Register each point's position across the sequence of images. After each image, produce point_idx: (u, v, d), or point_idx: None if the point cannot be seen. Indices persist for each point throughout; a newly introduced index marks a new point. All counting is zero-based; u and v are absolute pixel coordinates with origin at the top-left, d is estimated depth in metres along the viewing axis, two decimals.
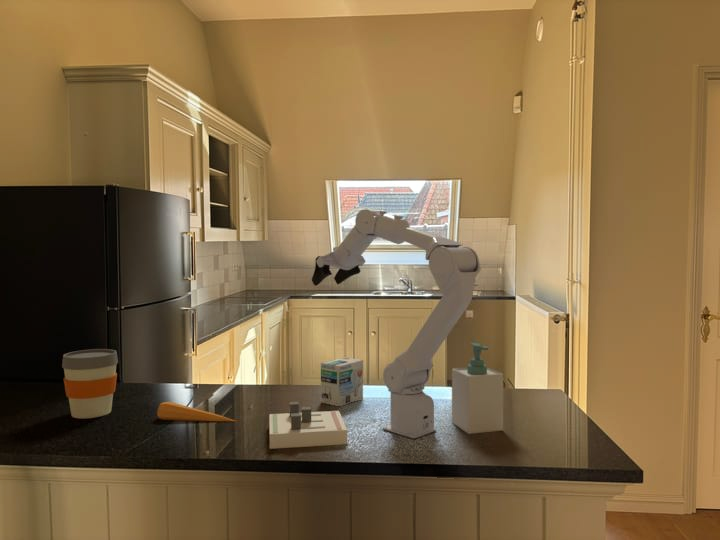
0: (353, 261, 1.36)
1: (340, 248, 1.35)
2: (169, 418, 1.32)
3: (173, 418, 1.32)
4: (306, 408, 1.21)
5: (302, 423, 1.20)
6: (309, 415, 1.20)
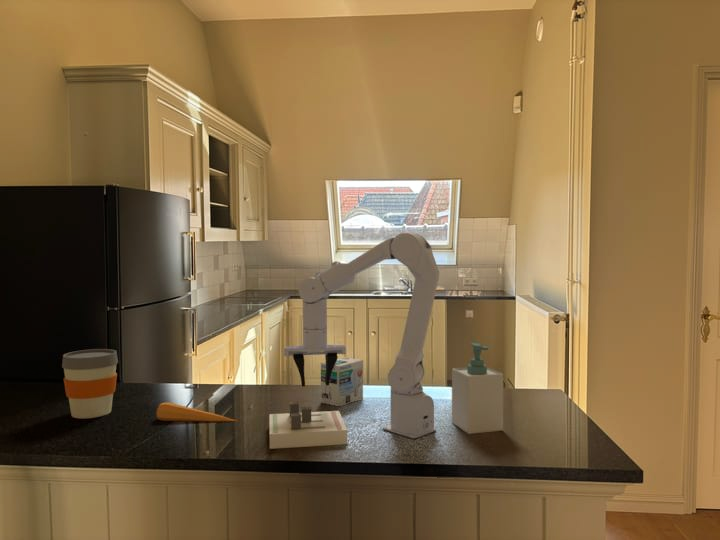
0: (315, 338, 1.29)
1: None
2: (169, 419, 1.32)
3: (173, 419, 1.32)
4: (306, 408, 1.21)
5: (302, 423, 1.20)
6: (309, 415, 1.20)
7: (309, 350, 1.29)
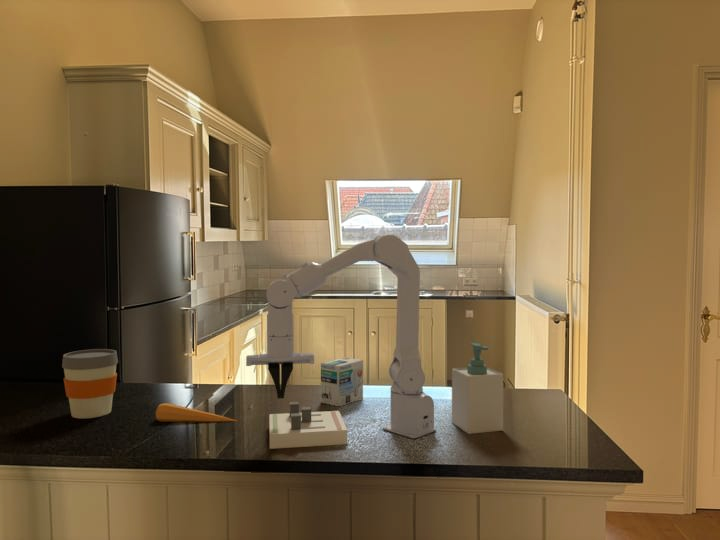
0: (280, 346, 1.18)
1: None
2: (168, 420, 1.31)
3: (172, 419, 1.31)
4: (306, 408, 1.21)
5: (302, 423, 1.20)
6: (309, 415, 1.20)
7: (273, 359, 1.18)
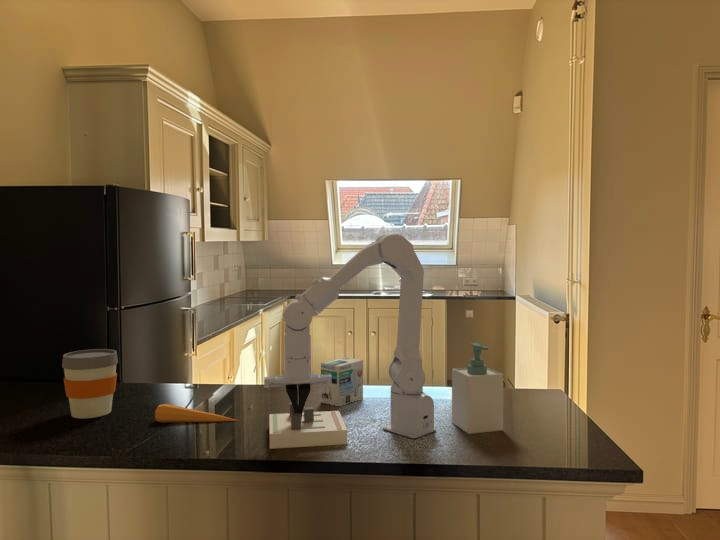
0: (298, 368, 1.18)
1: None
2: (168, 420, 1.30)
3: (172, 420, 1.31)
4: (309, 408, 1.21)
5: (302, 423, 1.20)
6: (311, 415, 1.20)
7: (291, 381, 1.18)
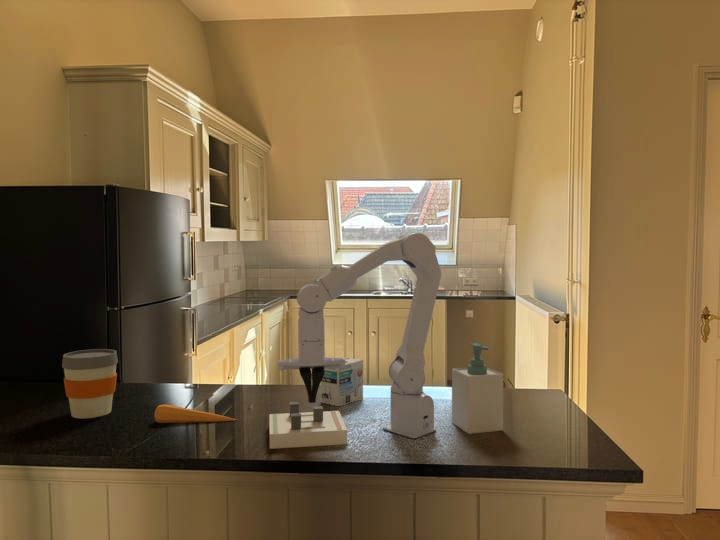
0: (312, 351, 1.18)
1: None
2: (168, 421, 1.30)
3: (172, 420, 1.30)
4: (318, 407, 1.22)
5: (302, 423, 1.20)
6: (321, 414, 1.21)
7: (305, 364, 1.18)
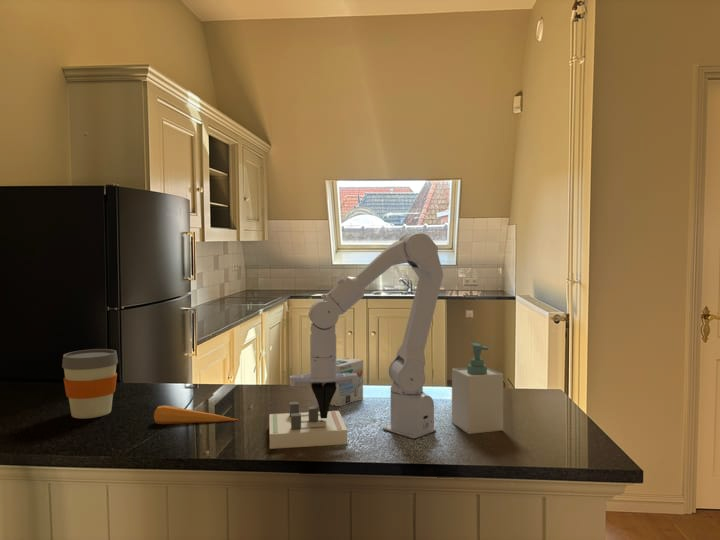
0: (324, 367, 1.19)
1: None
2: (168, 422, 1.29)
3: (172, 421, 1.29)
4: (313, 407, 1.21)
5: (302, 423, 1.20)
6: (316, 415, 1.21)
7: (317, 380, 1.19)
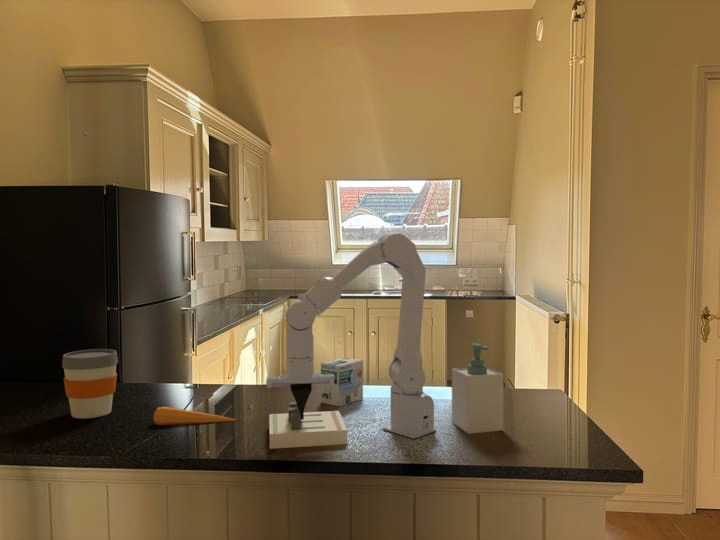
0: (301, 368, 1.18)
1: None
2: (168, 423, 1.29)
3: (172, 422, 1.29)
4: (293, 408, 1.21)
5: (302, 423, 1.20)
6: None
7: (294, 381, 1.18)
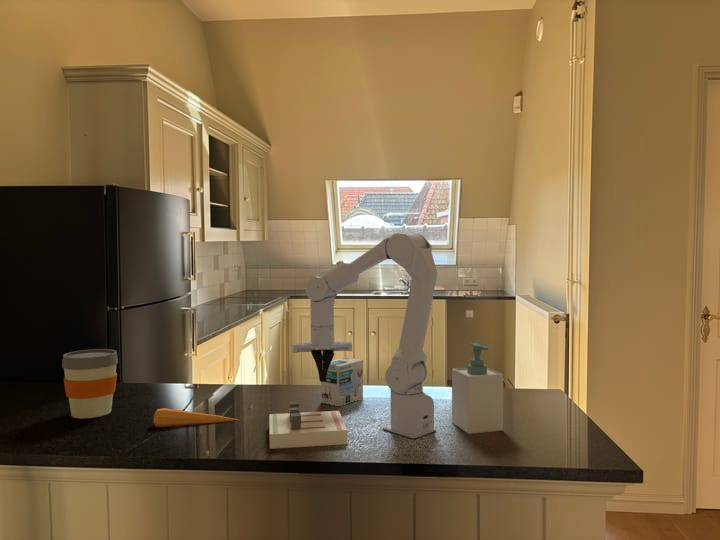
0: (323, 335, 1.33)
1: None
2: (168, 425, 1.28)
3: (173, 424, 1.28)
4: (294, 408, 1.21)
5: (302, 423, 1.20)
6: None
7: (317, 347, 1.33)
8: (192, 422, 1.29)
